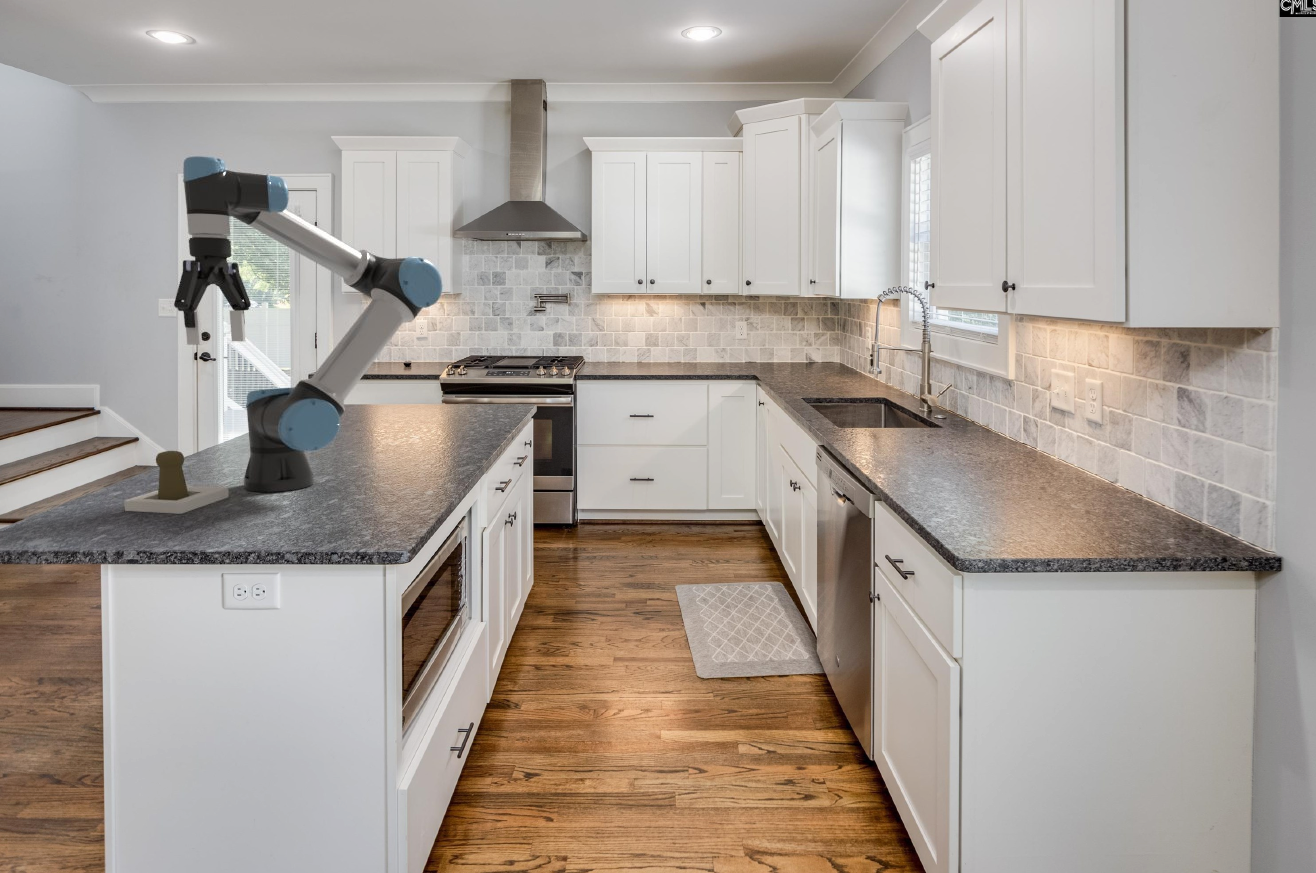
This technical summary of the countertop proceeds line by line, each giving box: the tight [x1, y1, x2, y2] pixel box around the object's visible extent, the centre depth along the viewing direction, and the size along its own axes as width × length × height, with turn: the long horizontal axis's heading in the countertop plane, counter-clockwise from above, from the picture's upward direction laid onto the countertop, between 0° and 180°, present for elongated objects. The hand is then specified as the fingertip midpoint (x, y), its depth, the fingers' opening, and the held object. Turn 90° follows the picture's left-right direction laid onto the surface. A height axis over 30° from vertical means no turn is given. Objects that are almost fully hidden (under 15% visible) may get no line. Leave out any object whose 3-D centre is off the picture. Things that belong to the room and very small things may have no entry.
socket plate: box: [123, 485, 229, 514], centre depth 183 cm, size 15×13×2 cm
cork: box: [155, 450, 189, 501], centre depth 180 cm, size 6×6×11 cm
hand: (217, 343), depth 175 cm, fingers open, 13 cm apart
